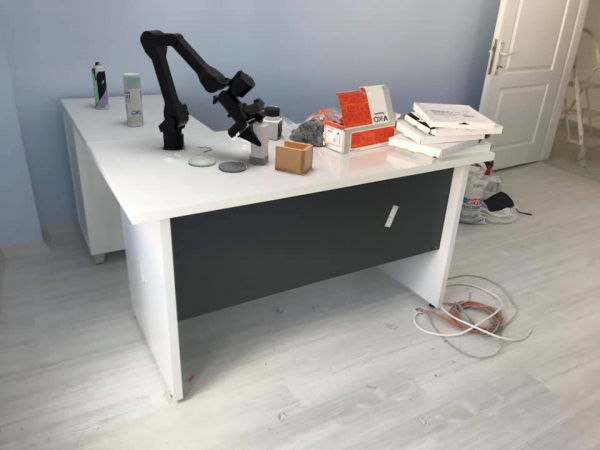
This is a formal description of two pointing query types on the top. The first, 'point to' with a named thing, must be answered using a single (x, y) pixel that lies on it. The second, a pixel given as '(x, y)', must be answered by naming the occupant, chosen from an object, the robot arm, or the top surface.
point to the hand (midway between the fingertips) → (263, 144)
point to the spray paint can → (133, 99)
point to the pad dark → (232, 166)
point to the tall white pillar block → (261, 153)
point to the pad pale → (202, 161)
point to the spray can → (100, 87)
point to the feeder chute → (294, 157)
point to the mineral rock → (309, 133)
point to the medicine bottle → (273, 122)
